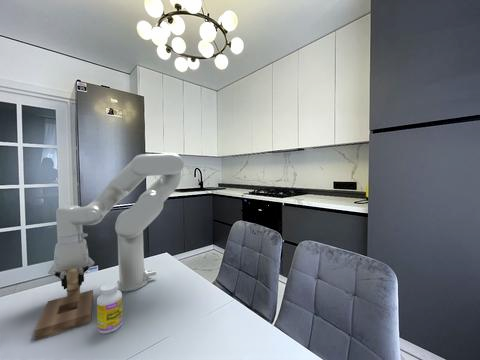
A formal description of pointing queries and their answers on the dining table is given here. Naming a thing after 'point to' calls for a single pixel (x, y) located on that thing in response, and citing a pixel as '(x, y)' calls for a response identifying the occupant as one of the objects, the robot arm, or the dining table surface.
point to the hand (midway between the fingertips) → (73, 285)
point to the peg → (72, 281)
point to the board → (65, 314)
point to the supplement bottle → (109, 308)
